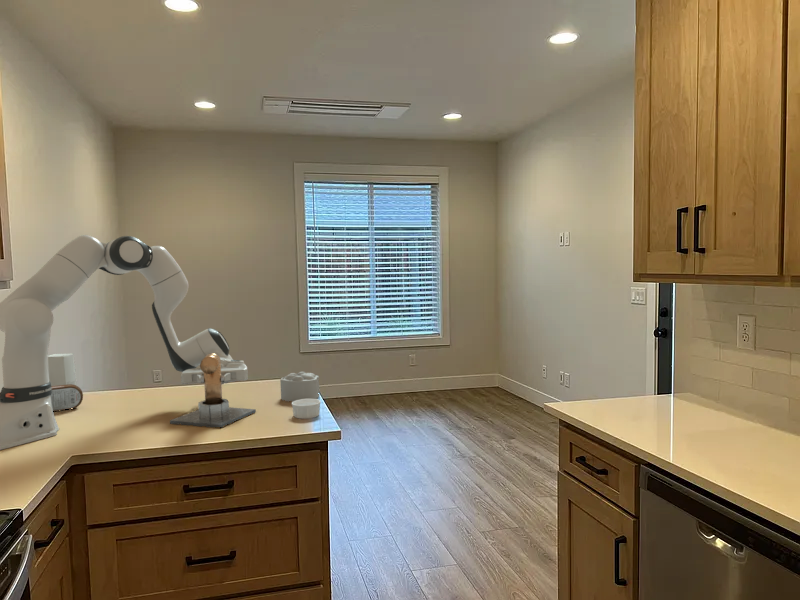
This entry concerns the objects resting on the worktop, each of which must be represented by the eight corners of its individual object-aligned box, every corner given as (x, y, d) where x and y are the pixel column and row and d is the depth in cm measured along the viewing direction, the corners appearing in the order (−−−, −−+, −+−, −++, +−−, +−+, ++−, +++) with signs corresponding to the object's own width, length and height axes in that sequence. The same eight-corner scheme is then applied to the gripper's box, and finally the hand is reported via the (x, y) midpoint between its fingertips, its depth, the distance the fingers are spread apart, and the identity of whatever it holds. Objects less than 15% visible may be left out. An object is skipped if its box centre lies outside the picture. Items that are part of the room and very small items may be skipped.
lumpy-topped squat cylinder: (316, 401, 199) (315, 376, 199) (278, 402, 199) (277, 377, 199) (320, 394, 210) (319, 370, 209) (284, 395, 210) (283, 371, 209)
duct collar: (220, 428, 169) (220, 411, 169) (170, 423, 175) (169, 407, 175) (255, 412, 186) (255, 396, 186) (208, 408, 192) (207, 393, 192)
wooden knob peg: (206, 405, 183) (204, 352, 181) (223, 403, 184) (220, 351, 182) (202, 412, 173) (199, 357, 172) (219, 411, 174) (217, 356, 173)
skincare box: (78, 394, 217) (75, 353, 216) (66, 399, 211) (63, 356, 210) (56, 394, 218) (54, 353, 217) (44, 399, 212) (41, 356, 211)
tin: (83, 406, 199) (82, 382, 199) (84, 408, 197) (82, 383, 196) (31, 413, 191) (29, 388, 191) (31, 415, 189) (29, 389, 188)
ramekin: (315, 420, 176) (314, 405, 176) (287, 419, 178) (287, 405, 178) (324, 412, 185) (324, 398, 185) (298, 411, 187) (297, 398, 187)
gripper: (183, 363, 191) (176, 371, 177) (248, 360, 194) (245, 367, 181) (184, 382, 191) (177, 392, 177) (249, 378, 195) (246, 387, 181)
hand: (212, 379), depth 179 cm, fingers closed on wooden knob peg, 5 cm apart
